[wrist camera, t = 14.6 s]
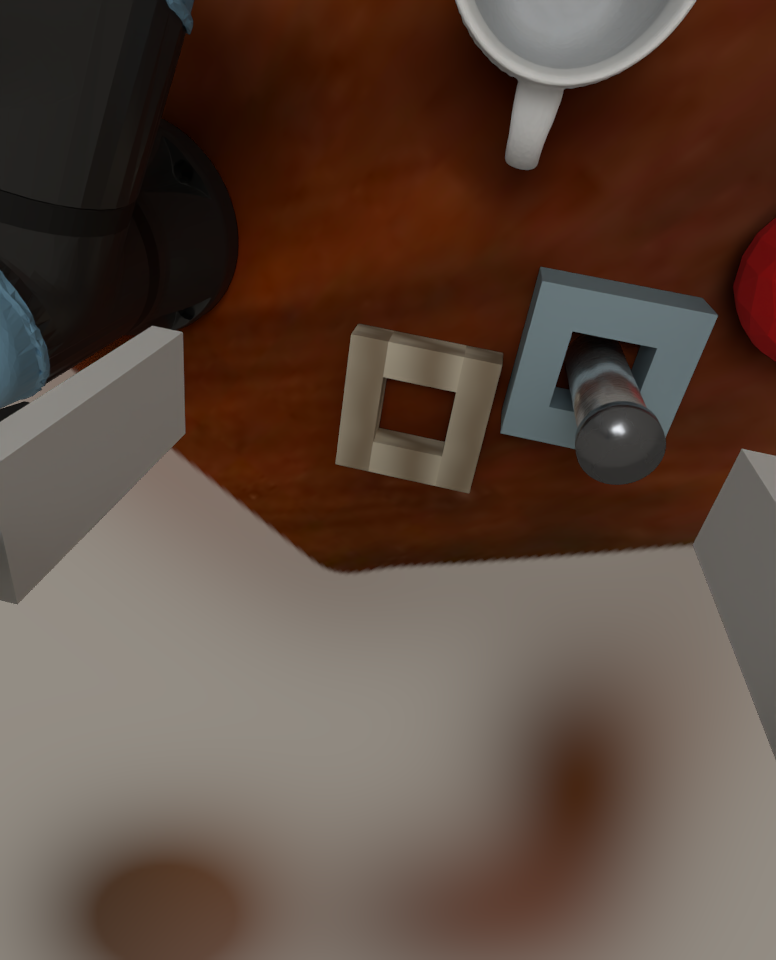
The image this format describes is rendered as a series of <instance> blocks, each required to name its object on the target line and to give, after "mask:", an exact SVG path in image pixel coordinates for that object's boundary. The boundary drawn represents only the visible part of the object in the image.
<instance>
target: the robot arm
mask: <svg viewBox="0 0 776 960" xmlns="http://www.w3.org/2000/svg"><path fill="white" fill-rule="evenodd" d="M193 2H194V0H0V408H2V407H5V406H7V405H9V404H11V403H14V402H16V401H18V400H20V399H26V398H29V397H31V396H33V395H35V394H36V393H37V392H38V391H40V390H41V387H43V386H45V384H46V383H48V382H50V381H51V380H53V379H54V378H56V377H58V376H59V375H61V374H62V373H64V372H66V371H67V370H69V369H70V368H72V367H74V366H75V365H77V364H79V363H80V362H82V361H83V360H85V359H87V358H88V357H90V356H91V355H93V354H95V353H96V352H98V351H99V350H101V349H103V348H104V347H106V346H107V345H109V344H111V343H112V342H114V341H115V340H117V339H119V338H120V337H122V336H123V335H137V336H135V337H134V338H132V339H131V340H129V341H127V342H126V343H124V344H123V345H121V346H119V347H118V348H116V349H115V350H113V351H112V352H110V353H108V354H107V355H105V356H104V357H102V358H100V359H99V360H97V361H96V362H94V363H93V364H91V365H89V366H88V367H86V368H85V369H83V370H81V371H80V372H78V373H77V374H75V375H74V376H72V377H71V378H69V379H67V380H66V381H64V382H63V383H61V384H59V385H58V386H56V387H55V388H53V389H51V390H50V391H48V392H47V393H45V394H44V395H42V396H40V397H39V398H37V399H36V400H34V401H33V402H31V403H29V402H21V403H18V404H15V405H12V406H9V407H6V408H2V409H0V600H2V601H6V602H10V603H14V604H18V603H19V602H20V601H21V600H22V599H23V598H24V597H25V596H26V595H27V594H28V593H29V592H30V591H31V590H32V589H33V588H34V587H35V586H36V585H37V584H38V583H39V582H40V581H41V580H42V579H43V578H44V577H45V576H46V575H47V574H48V573H49V572H50V571H51V570H52V569H53V568H54V566H55V565H57V564H58V563H59V561H60V560H61V559H62V558H63V557H64V556H65V555H66V554H67V553H68V552H69V551H70V550H71V549H72V548H73V547H74V546H75V545H76V544H77V543H78V542H79V541H80V540H81V539H82V538H83V537H84V536H85V535H86V534H87V533H88V532H89V531H90V530H91V529H92V528H93V527H94V526H95V525H96V524H97V523H98V522H99V521H100V520H101V519H102V518H103V517H104V516H105V515H106V514H107V512H108V511H110V510H111V508H113V506H114V505H116V503H117V502H118V501H119V500H120V499H121V498H122V497H123V496H124V495H125V494H126V493H127V492H128V491H129V490H130V489H131V488H132V487H133V486H134V485H135V484H136V483H137V482H138V481H139V480H140V479H141V478H142V477H143V476H144V475H145V474H146V473H147V472H148V471H149V470H150V469H151V468H152V467H153V466H154V465H155V464H156V463H157V462H158V461H159V460H160V459H161V458H162V457H163V456H164V455H165V454H166V453H167V452H168V451H169V450H170V449H171V448H172V446H173V445H174V444H175V443H176V442H177V441H178V440H179V439H180V438H181V437H182V436H183V435H184V434H185V400H184V358H183V332H180V331H176V330H179V329H181V328H184V327H186V326H188V325H190V324H191V323H193V322H194V321H196V320H197V319H199V318H200V317H202V316H203V315H205V314H206V313H207V312H209V311H210V310H211V309H212V308H213V307H214V306H215V305H216V304H217V303H218V302H219V301H220V299H221V298H222V297H223V295H224V294H225V292H226V290H227V288H228V286H229V284H230V282H231V280H232V277H233V274H234V271H235V267H236V262H237V255H238V231H237V223H236V218H235V213H234V209H233V206H232V203H231V200H230V197H229V194H228V192H227V189H226V187H225V185H224V183H223V181H222V179H221V177H220V175H219V174H218V172H217V170H216V169H215V167H214V166H213V164H212V163H211V161H210V160H209V159H208V157H207V156H206V155H205V153H204V152H203V151H202V150H201V149H200V148H199V147H198V146H197V145H196V143H195V142H194V141H192V140H191V139H190V138H189V137H188V136H187V135H186V134H185V133H183V132H182V131H181V130H180V129H178V128H177V127H175V126H174V125H172V124H171V123H169V122H167V121H166V120H164V119H162V118H161V117H162V114H163V110H164V107H165V103H166V100H167V96H168V93H169V89H170V86H171V83H172V79H173V76H174V72H175V69H176V65H177V62H178V58H179V55H180V52H181V48H182V45H183V41H184V38H185V34H186V33H187V34H189V35H190V33H191V31H192V28H193V19H192V16H191V10H192V6H193ZM693 547H694V550H695V552H696V555H697V558H698V560H699V563H700V565H701V568H702V570H703V573H704V576H705V578H706V581H707V583H708V586H709V588H710V591H711V594H712V596H713V599H714V601H715V604H716V607H717V609H718V612H719V614H720V617H721V619H722V622H723V624H724V627H725V630H726V632H727V635H728V638H729V640H730V643H731V645H732V648H733V650H734V653H735V656H736V658H737V661H738V663H739V666H740V668H741V671H742V673H743V676H744V679H745V681H746V684H747V687H748V689H749V692H750V694H751V697H752V700H753V702H754V705H755V707H756V710H757V713H758V715H759V718H760V720H761V723H762V725H763V728H764V730H765V733H766V736H767V738H768V741H769V744H770V746H771V749H772V751H773V754H774V756H775V759H776V456H773V455H769V454H764V453H759V452H754V451H749V450H745V449H741V451H740V453H739V455H738V457H737V459H736V461H735V463H734V465H733V467H732V469H731V471H730V473H729V475H728V477H727V479H726V481H725V483H724V485H723V487H722V489H721V491H720V493H719V495H718V497H717V498H716V500H715V502H714V504H713V506H712V508H711V510H710V512H709V514H708V516H707V518H706V520H705V522H704V524H703V526H702V528H701V530H700V532H699V534H698V536H697V538H696V540H695V542H694V544H693Z"/></svg>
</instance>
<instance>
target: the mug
mask: <svg viewBox="0 0 776 960" xmlns="http://www.w3.org/2000/svg"><path fill="white" fill-rule="evenodd" d="M455 2H456V4H457V7H458V10H459V13H460V15H461V17H462V21H463V24H464V25H465V26H466V28H467V29H468V32H469V35H470V36H471V37H472V38H473V40H474V43H475V44H476V45H477V46H478V48H480V49H481V50H482V52H483V54H485V56H487V57H488V58H489V60H490V61H491V62H492V63H493V64H495V65H496V66H497V67H498V68H499V69H500V70H501V71H504V72H506V73H507V74H508V75H509V76H511V77H515V78H516V79H517V80H518V84H517V88H516V93H515V98H514V103H513V109H512V115H511V123H510V131H509V137H508V141H507V146H506V153H505V160H506V162H507V164H509V165H510V166H512V167H515V168H517V169H521V170H531V169H534V168H535V167H536V166H537V164H538V161H539V157H540V154H541V151H542V148H543V145H544V143H545V140H546V138H547V135H548V133H549V130H550V128H551V126H552V124H553V121H554V118H555V116H556V113H557V110H558V108H559V105H560V102H561V100H562V96H563V91H564V89H566V88H569V89H572V88H576V87H584V86H587V85H589V84H595V83H598V82H600V81H602V80H606V79H608V78H610V77H611V76H614V75H617V74H619V73H621V72H622V71H624V70H626V69H628V68H629V67H631V66H632V65H634V64H635V63H637V62H639V61H640V60H641V59H643V58H644V57H646V56H647V55H648V54H650V53H651V52H652V51H653V50H654V49H656V48H657V47H658V46H659V45H660V44H661V43H662V42H663V41H664V40H665V39H666V38H667V37H668V36H669V35H670V34H671V33H672V32H673V31H674V30H675V29H676V27H677V26H678V25H679V24H680V23H681V21H682V20H683V19H684V18H685V16H686V15H687V13H688V12H689V11H690V9H691V8H692V6H693V5H694V3H695V2H696V0H455Z"/></svg>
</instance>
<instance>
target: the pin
mask: <svg viewBox="0 0 776 960" xmlns="http://www.w3.org/2000/svg"><path fill="white" fill-rule="evenodd" d="M565 367H566V372H567V377H568V382H569V388H570V393H571V398H572V403H573V409H574V414H575V419H576V424H577V431H576V435H575V449H576V455H577V459H578V462H579V464H580V466H581V468H582V469H583V470H584V471H585V472H586V473H587V474H588V475H589V476H590V477H592V478H593V479H595V480H597V481H600V482H603V483H606V484H615V485H619V484H628V483H632V482H635V481H638V480H640V479H642V478H644V477H646V476H647V475H648V474H650V473H651V472H652V471H653V470H654V469H655V468H656V467H657V466H658V465H659V463H660V462H661V460H662V458H663V456H664V453H665V448H666V438H665V434H664V431H663V429H662V427H661V425H660V422H659V420H658V419H657V417H656V416H655V415H654V414H653V412H652V411H650V410H649V409H648V408H647V407H646V405H645V403H644V400H643V398H642V396H641V393H640V391H639V389H638V386H637V384H636V382H635V379H634V377H633V375H632V372H631V370H630V368H629V365H628V363H627V361H626V358H625V356H624V354H623V351H622V349H621V347H620V345H619V343H618V342H617V340H613V339H608V338H603V337H598V336H593V335H588V334H584V335H582V336H580V337H578V338H577V339H576V340H574V341H573V342H572V344H571V345H570V346H569V348H568V350H567V352H566V355H565Z"/></svg>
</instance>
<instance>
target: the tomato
mask: <svg viewBox="0 0 776 960" xmlns="http://www.w3.org/2000/svg"><path fill="white" fill-rule="evenodd" d="M733 290H734V297H735V304H736V311H737V314H738V317H739V320H740V323H741V325H742V327H743V329H744V330H745V332H746V334H747V335H748V337H749V338H750V340H751V342H752V343H753V345H754V346H756V347H757V348H758V349H759V350H760V351H761V352H762V353H764V354H765V355H767V356H768V357H770V358H771V359H772V360H774V361H775V362H776V217H775V218H774V219H773V220H772V221H771V222H770V223H768V224H767V225H766V226H765V227H764V228H763V229H762V230H760V231H759V232H758V233H757V234H756V236H755V237H754V239H753V241H752V242H751V244H750V245H749V247H748V248H747V250H746V251H745V253H744V254H743V256H742V259H741V262H740V265H739V268H738V272H737V275H736V278H735V281H734V285H733Z"/></svg>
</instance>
